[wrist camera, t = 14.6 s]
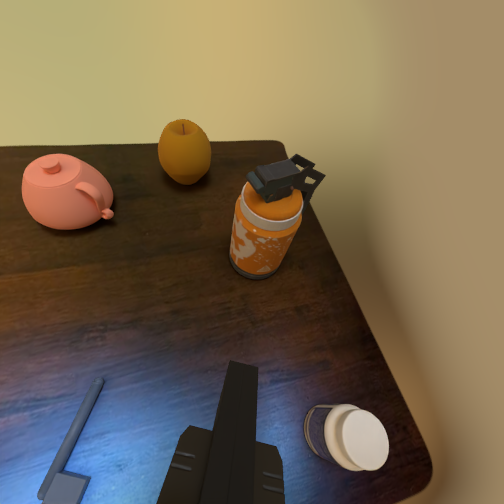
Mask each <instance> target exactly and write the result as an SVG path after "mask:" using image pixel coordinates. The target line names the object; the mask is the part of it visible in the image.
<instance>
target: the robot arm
mask: <svg viewBox="0 0 504 504" xmlns="http://www.w3.org/2000/svg"><path fill="white" fill-rule="evenodd" d="M257 389H258V367H254V366H250V365H246V364H243V363H239V362H235V361H231V360H230V362H229V366H228V370H227V373H226V377H225V381H224V385H223V389H222V392H221V396H220V400H219V404H218V408H217V413H216V417H215V422H214V426H213V430H212V431H210V430H207V429H203V428H199V427H195V426H191V425H189V427H188V428H187V429H186V430H185V431H184V432H183V434H182V435H181V436H180V438H179V441H178V444H177V447H176V450H175V453H174V455H173V458H172V461H171V464H170V466H169V469H168V472H167V475H166V478H165V481H164V483H163V486H162V489H161V492H160V495H159V497H158V500H157V503H156V504H285V494H284V480H283V464H282V459H281V457H280V454H279V452H278V449H277V447H276V446H273V445H269V444H265V443H261V442H257V441H256V416H257Z"/></svg>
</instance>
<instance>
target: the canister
mask: <svg viewBox="0 0 504 504" xmlns="http://www.w3.org/2000/svg"><path fill="white" fill-rule="evenodd" d="M296 164H298V165H299V166H301V167H303V168H304V169H303V170H302V171H300V170H299V169H298V168H297V167H296ZM314 166H315V164H314V163H312V162H311V161H309V160H307V159H305V158H303V157H301V156H300V155H298V154H295V155H294V156H293V157H292V158H290V159H288V160H284V161H280V162H277V163H273V164H269V165H266V166H264V165H261V166H258V167H256V170H255V173H254V172H250V173H248V175H246V179H247V181H248V182H247V183H246V184H245V186H244V187H243V190H242V194H241V195H240V196H239V198H238V199H237V202H236V206H235V214H234V221H233V229H232V237H231V244H230V252H229V257H230V262H231V264H232V266H233V267H234V269H235V270H236V271H237V272H238V273H240V274H241V275H243V276H245V277H247V278H251V279H264V278H267V277H269V276H271V275H272V274H274V273H275V272H276V271H277V269H278V267H279V265H280V263H281V261H282V259H283V257H284V255H285V253H286V251H287V249H288V247H289V245H290V243H291V241H292V239H293V237H294V235H295V233H296V231H297V229H298V227H299V225H300V223H301V219H302V215H303V213H304V211H305V209H306V207H307V205H308V203H309V201H310V199H311V197H312V194H313V192H314V190H315V189H316V187H317V186H318V185H319V184H320V182H321V181H322V180H323V178H324V177H325V175H324V174H322V173H320V172H318V171H316V170H314V169H312V168H313V167H314ZM307 176H308V177H310V178H312V179H314V180H316V181H315V183H313V184H308V183H305V182H304V181H305V179H306V177H307Z"/></svg>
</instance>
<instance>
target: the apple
mask: <svg viewBox="0 0 504 504" xmlns="http://www.w3.org/2000/svg"><path fill="white" fill-rule="evenodd" d="M158 154H159V160H160V163H161V165H162V167H163V169H164V170H165V171H166V172H167V174H168V175H169V176H170V177H171V178H173V179H174V180H175V181H176V182H178V183H180V184H183V185H191V184H193V183H196V182H197V181H198V180H199V179H200V178H201V177H202V176H204V175H205V174H206V172H207V171H208V169H209V167H210V160H211V147H210V142H209V140H208V138H207V136H206V134H205V132H203V130H202V129H201V128H200V127H199V126H198V125H197V124H195V123H193V122H191V121H189V120H185V119H181V120H176V121H173V122H170V123H169V124H168V125H167V126H166V127H165V128H164V130H163V132H162V134H161V137H160V140H159V144H158Z"/></svg>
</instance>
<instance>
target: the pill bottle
mask: <svg viewBox="0 0 504 504" xmlns="http://www.w3.org/2000/svg"><path fill="white" fill-rule="evenodd" d="M304 431H305V437H306V440H307V442H308V444H309V446H310V448H311V449H312V450H313V451H314V452H315V453H316V454H317V455H318V456H320V457H321V458H323V459H326V460H328V461H330V462H332V463H335V464H337V465H339V466H341V467H344V468H346V469H348V470H353V471H360V470H370V471H372V470H376V469H379V468H380V467H381V466H382V465H383V464H384V463H385V461H386V459H387V456H388V451H389V443H388V438H387V434H386V431H385V429H384V427H383V425H382V424H381V422H380V421H379V420H378V419H377V418H376V417H375V416H374V415H373V414H371V413H370V412H368V411H365V410H361V409H359V408H358V407H356V406H354V405H350V404H320V405H317V406H315V407H313V408H312V409H311V410H310V411H309V412H308V414H307V416H306V419H305V424H304Z"/></svg>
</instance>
